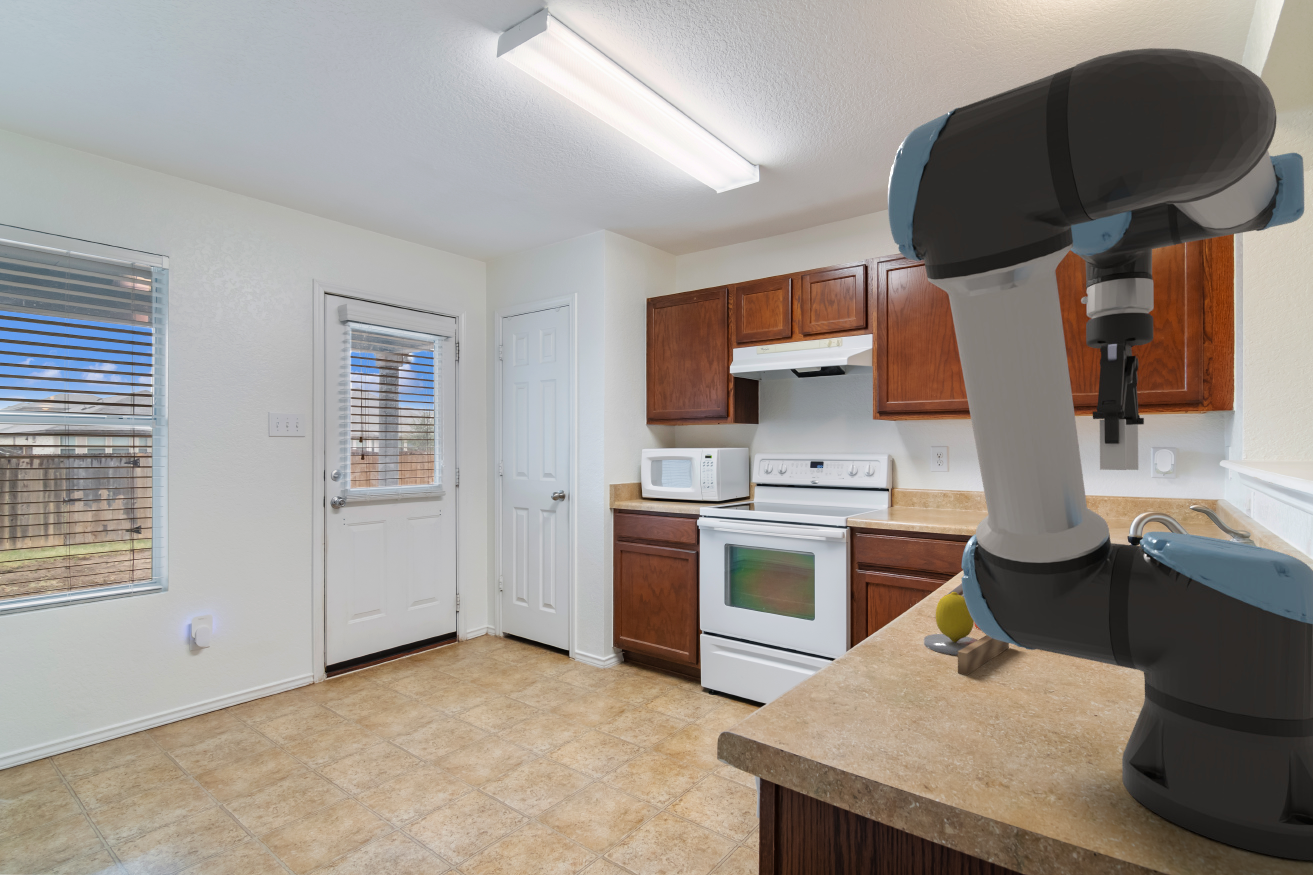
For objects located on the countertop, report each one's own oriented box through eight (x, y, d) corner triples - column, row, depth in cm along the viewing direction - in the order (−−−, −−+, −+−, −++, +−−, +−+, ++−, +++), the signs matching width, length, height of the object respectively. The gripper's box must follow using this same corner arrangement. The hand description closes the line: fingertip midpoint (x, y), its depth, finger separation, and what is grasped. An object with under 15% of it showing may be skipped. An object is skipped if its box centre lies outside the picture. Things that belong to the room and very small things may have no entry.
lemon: (978, 648, 98) (977, 596, 98) (940, 646, 99) (939, 594, 99) (968, 638, 103) (968, 588, 104) (932, 636, 104) (931, 587, 105)
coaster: (974, 660, 95) (974, 654, 95) (914, 646, 101) (914, 641, 101) (994, 647, 101) (994, 642, 101) (937, 635, 108) (937, 630, 108)
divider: (966, 674, 89) (966, 653, 89) (957, 672, 89) (957, 651, 90) (1008, 647, 101) (1008, 628, 101) (1000, 645, 102) (1000, 626, 102)
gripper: (1100, 333, 100) (1101, 469, 99) (1069, 303, 81) (1070, 469, 81) (1161, 327, 95) (1162, 470, 94) (1143, 293, 76) (1144, 470, 75)
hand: (1120, 470), depth 87 cm, fingers open, 13 cm apart
